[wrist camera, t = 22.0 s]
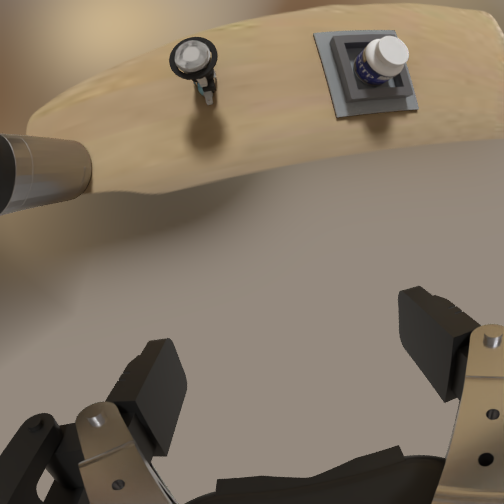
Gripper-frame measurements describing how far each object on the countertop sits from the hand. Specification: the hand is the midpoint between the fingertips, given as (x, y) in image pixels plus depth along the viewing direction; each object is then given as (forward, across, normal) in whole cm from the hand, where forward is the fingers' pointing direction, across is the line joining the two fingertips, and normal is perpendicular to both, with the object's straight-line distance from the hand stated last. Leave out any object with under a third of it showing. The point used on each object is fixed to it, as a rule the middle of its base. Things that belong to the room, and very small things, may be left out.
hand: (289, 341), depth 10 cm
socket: (+33, -19, -18) cm, 42 cm away
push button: (+33, +4, -20) cm, 39 cm away
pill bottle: (+33, -19, -18) cm, 42 cm away
